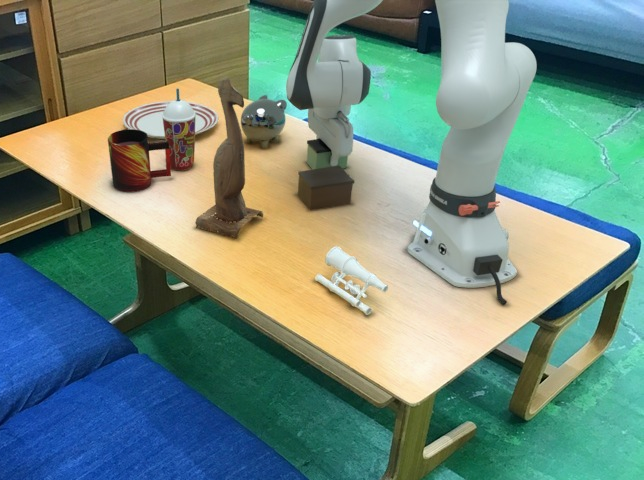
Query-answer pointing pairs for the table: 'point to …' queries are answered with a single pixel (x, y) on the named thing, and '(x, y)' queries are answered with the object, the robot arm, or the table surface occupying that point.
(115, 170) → the mug
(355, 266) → the white tapered barrel part
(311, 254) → the table surface
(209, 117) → the dinner plate
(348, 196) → the walnut box
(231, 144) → the bird sculpture
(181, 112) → the smoothie
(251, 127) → the piggy bank
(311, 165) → the green lidded box
